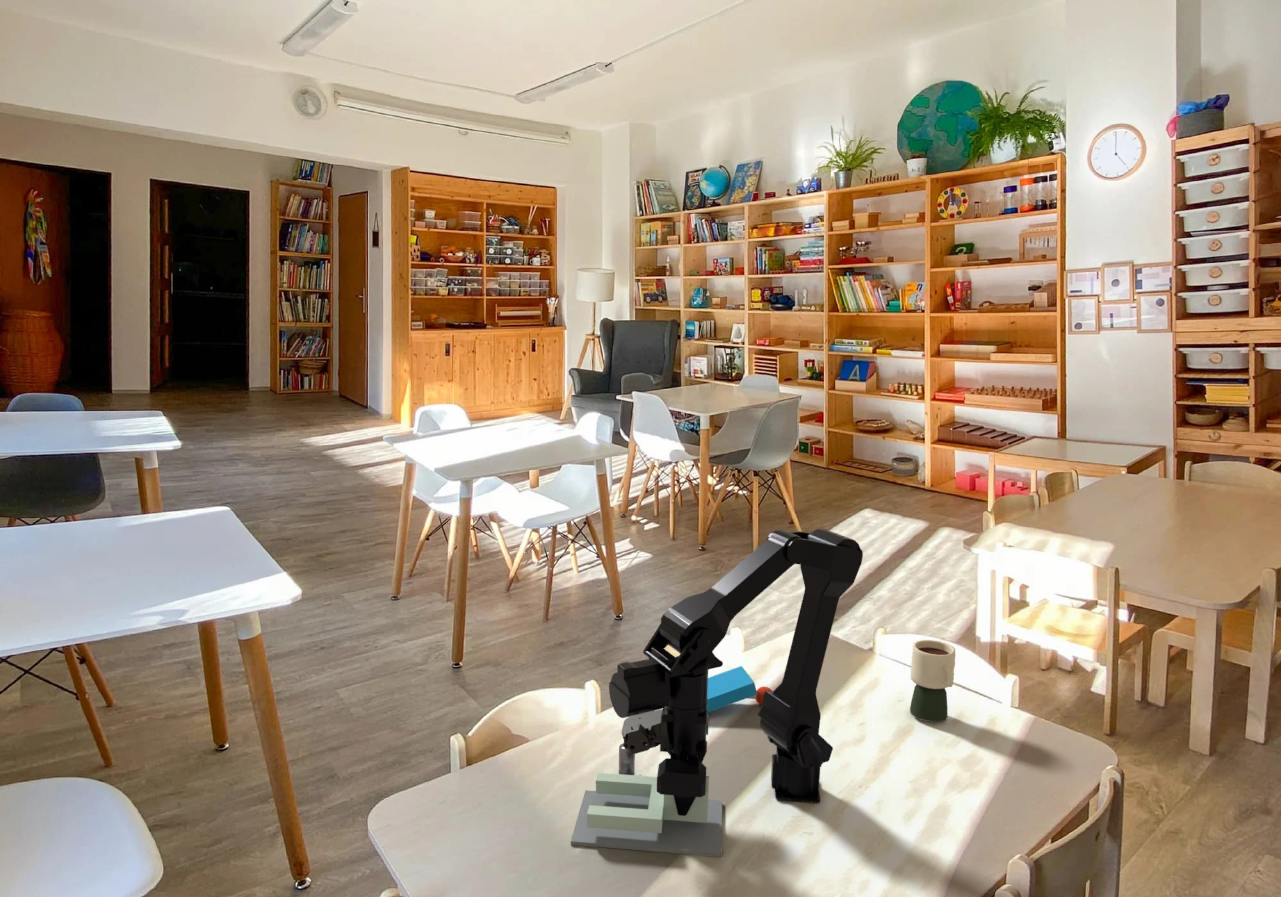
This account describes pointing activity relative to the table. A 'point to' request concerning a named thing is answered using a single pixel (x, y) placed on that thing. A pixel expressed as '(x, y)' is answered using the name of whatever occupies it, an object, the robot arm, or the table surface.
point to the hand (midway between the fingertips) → (682, 805)
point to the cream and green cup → (931, 678)
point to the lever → (732, 689)
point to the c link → (640, 818)
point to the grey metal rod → (626, 761)
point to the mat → (671, 840)
